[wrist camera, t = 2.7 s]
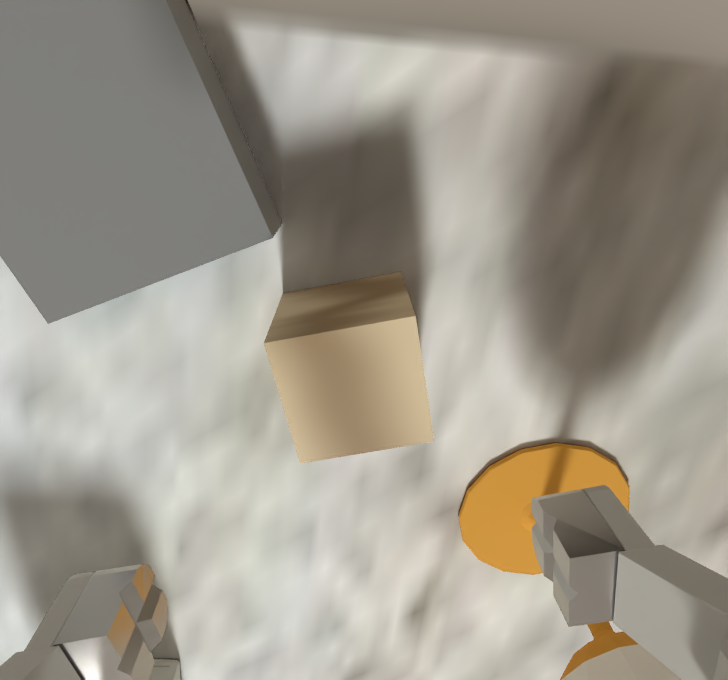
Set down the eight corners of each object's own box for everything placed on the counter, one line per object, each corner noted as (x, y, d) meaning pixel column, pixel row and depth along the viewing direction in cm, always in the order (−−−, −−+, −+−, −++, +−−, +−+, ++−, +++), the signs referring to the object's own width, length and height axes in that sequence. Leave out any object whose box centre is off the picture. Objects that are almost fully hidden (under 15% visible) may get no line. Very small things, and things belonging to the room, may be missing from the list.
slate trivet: (169, -41, 16) (131, -75, 13) (283, 221, 19) (272, 237, 16) (-60, 68, 17) (-140, 57, 14) (88, 296, 20) (48, 323, 18)
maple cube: (400, 271, 20) (415, 315, 15) (416, 374, 22) (434, 441, 17) (283, 292, 20) (263, 343, 16) (310, 393, 22) (300, 463, 18)
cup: (646, 439, 24) (1122, 949, 9) (609, 568, 27) (904, 1074, 13) (464, 444, 24) (652, 973, 9) (452, 573, 27) (571, 1093, 13)
